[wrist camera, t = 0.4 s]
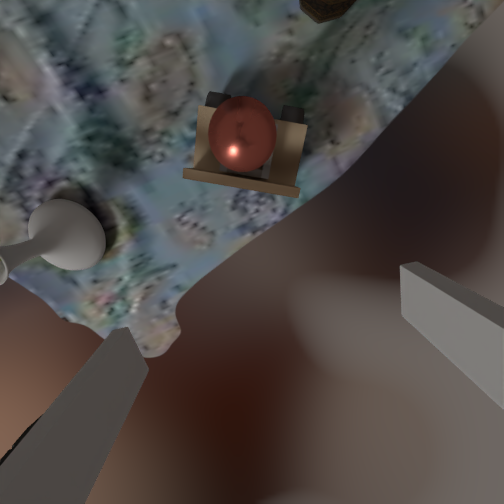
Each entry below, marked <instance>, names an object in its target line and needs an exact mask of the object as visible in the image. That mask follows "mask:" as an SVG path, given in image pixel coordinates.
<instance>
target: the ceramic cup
mask: <svg viewBox="0 0 504 504" xmlns="http://www.w3.org/2000/svg"><path fill="white" fill-rule="evenodd" d="M355 1H356V0H299V4H300V9H301V10H302V11H303V12H304V13H305V14H307V15H308V16H309V17H310V18H311V19H313V20H314V21H315V22H316V23H318V24H319V23H323V22H327V21H330V20H334V19H337V18H340V17H341V16H342V15H343V14H344V13H345V12H346V11H347V10H348V9H349V8H350V7H351V6H352V5H353V3H354V2H355Z"/></svg>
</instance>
